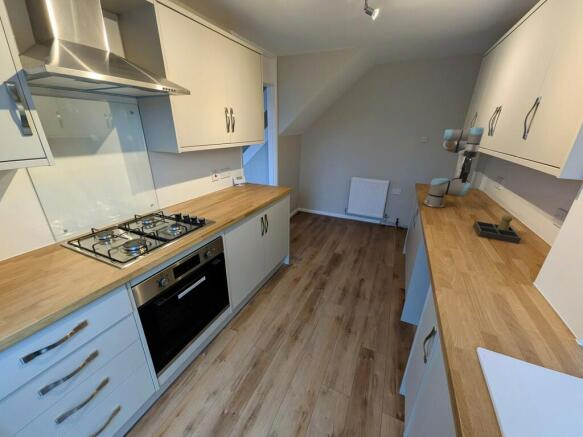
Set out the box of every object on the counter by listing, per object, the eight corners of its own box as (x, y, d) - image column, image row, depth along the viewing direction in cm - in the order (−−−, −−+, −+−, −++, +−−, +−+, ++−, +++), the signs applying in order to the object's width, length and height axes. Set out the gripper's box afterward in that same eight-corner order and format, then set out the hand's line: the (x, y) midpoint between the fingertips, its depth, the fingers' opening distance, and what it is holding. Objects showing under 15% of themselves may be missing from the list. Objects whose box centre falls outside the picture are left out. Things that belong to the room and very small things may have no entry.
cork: (510, 234, 150) (516, 218, 146) (499, 233, 151) (505, 217, 147) (504, 230, 156) (510, 214, 151) (493, 229, 157) (499, 213, 152)
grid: (473, 225, 164) (475, 220, 162) (509, 231, 155) (511, 226, 154) (478, 236, 148) (480, 231, 146) (518, 243, 140) (521, 238, 138)
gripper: (462, 149, 177) (454, 177, 185) (467, 152, 156) (458, 183, 164) (474, 149, 174) (465, 178, 181) (481, 152, 153) (471, 185, 161)
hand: (462, 180), depth 173 cm, fingers open, 13 cm apart
